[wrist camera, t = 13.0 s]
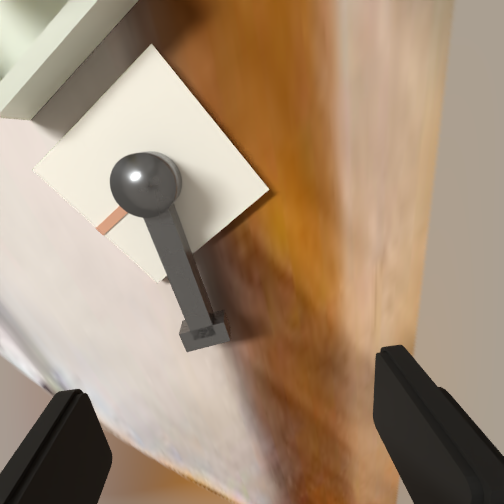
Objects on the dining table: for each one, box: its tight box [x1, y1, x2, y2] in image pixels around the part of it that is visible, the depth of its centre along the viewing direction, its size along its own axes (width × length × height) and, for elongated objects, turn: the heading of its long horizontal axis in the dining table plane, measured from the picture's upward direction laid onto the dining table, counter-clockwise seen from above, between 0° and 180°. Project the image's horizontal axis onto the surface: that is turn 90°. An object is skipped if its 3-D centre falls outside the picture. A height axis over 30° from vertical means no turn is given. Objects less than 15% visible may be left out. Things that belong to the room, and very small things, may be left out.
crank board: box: [32, 44, 269, 284], centre depth 24 cm, size 13×13×1 cm
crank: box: [110, 151, 230, 352], centre depth 24 cm, size 17×4×3 cm, turn 15°
